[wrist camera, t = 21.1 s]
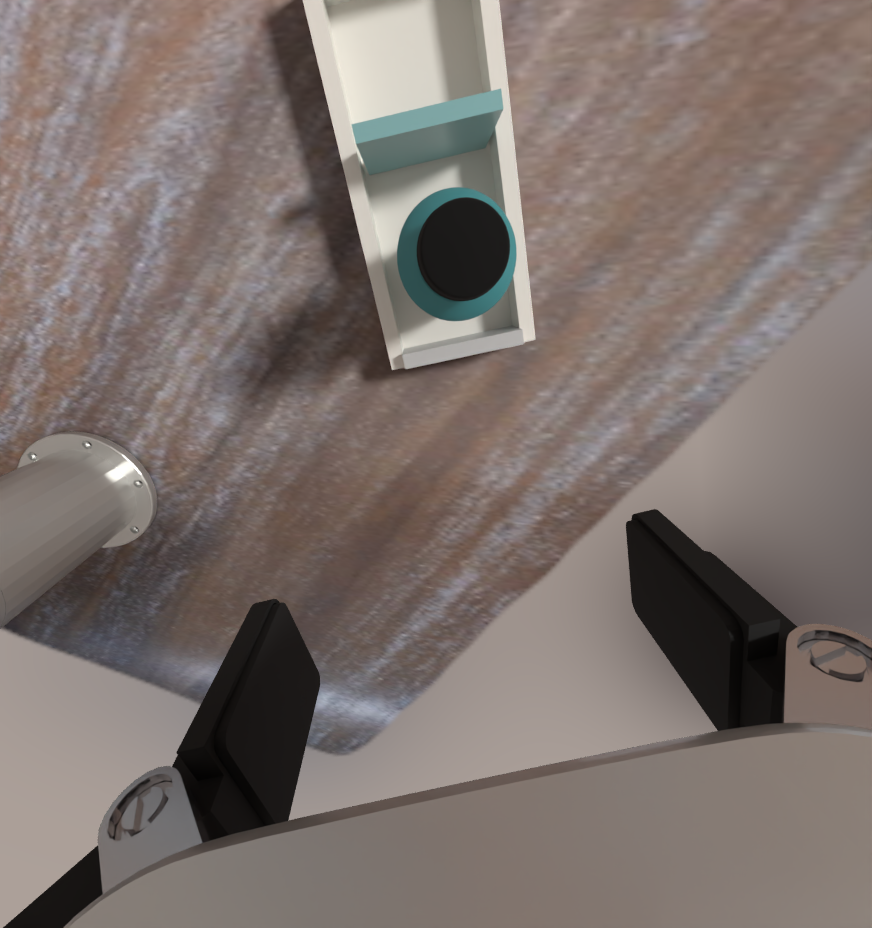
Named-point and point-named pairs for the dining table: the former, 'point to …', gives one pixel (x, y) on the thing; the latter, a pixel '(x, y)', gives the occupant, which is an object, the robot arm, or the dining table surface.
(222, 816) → the robot arm
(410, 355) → the white divided tray
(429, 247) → the beverage bottle
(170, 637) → the dining table surface
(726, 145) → the dining table surface
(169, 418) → the dining table surface
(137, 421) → the dining table surface
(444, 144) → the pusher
